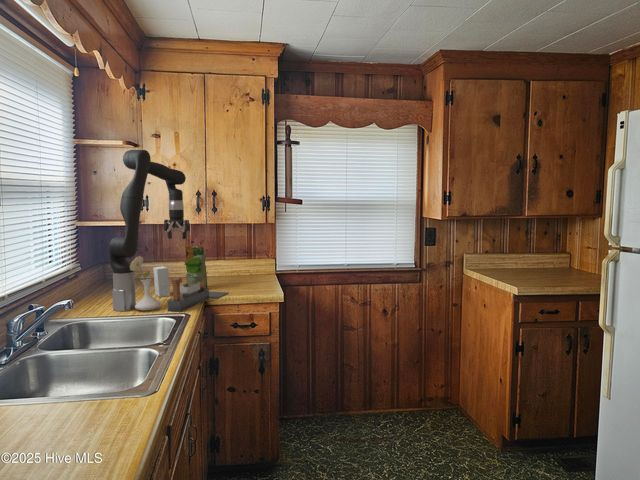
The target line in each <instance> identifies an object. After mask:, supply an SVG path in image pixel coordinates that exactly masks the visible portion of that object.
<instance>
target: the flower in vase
mask: <svg viewBox="0 0 640 480" xmlns="http://www.w3.org/2000/svg"><path fill="white" fill-rule="evenodd" d="M143 263H144V257H143V256H141V255H139V256H136V257H135V258H134V259H133V260H132V261H131V263H130V264H131V265H130V270H131V271H132V270H133V271H134V272H136V271H137V270H138V269H140V272H138V273H137V274H135V279H140V278H141V277H142V276H143V277H144V278H143V279H140V281H141V283H142V284H143V289H144V294H143V296H142V297H141V299H139V300H138V301H136V305H135V309H136V310H139V311H151V310H156V309H158V308H160V307H161V305H162V303H161V302H160V301H159V300H158V299H156V298H154V297H153V296H152V295H151V290H150V289H151V288H150V287H151V283H152V281H153V278H147V277H150V276H151V271H150V270H149V271H147V272H145V273H143V269H142V268H141V267H142V265H143Z"/></svg>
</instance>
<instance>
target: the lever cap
mask: <svg viewBox="0 0 640 480" xmlns="http://www.w3.org/2000/svg"><path fill="white" fill-rule="evenodd" d="M199 289H200V283H187V282H186V283H184V284H183V285H180V294H182V293H188V294H189V293H192V292H194V291H197V290H199Z"/></svg>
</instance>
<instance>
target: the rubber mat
mask: <svg viewBox="0 0 640 480" xmlns="http://www.w3.org/2000/svg"><path fill="white" fill-rule="evenodd" d="M228 293H229V292H225V291H224V292H223V291H210V290H209V299H216V300H217V299H218V300H219V299H220V298H223V297H224V295H225V296H227V295H229V294H228ZM226 294H227V295H226ZM222 296H223V297H222Z"/></svg>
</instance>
